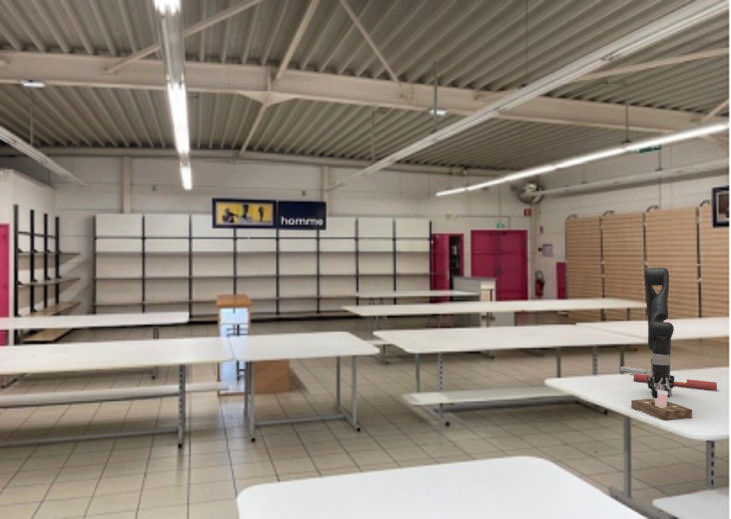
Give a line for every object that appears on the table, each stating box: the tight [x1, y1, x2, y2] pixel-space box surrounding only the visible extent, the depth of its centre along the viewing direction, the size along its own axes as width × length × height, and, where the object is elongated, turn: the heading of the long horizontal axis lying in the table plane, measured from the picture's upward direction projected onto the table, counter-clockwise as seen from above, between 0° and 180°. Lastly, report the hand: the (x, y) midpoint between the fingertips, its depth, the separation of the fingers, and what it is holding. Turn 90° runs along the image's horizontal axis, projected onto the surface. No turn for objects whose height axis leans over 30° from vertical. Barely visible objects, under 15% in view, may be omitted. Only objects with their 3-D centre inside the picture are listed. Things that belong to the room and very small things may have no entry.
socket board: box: [630, 398, 693, 421], centre depth 246 cm, size 16×20×4 cm
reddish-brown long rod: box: [633, 373, 718, 391], centre depth 301 cm, size 42×5×5 cm, turn 58°
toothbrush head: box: [619, 365, 651, 375], centre depth 327 cm, size 5×7×25 cm
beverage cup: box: [654, 384, 668, 407], centre depth 246 cm, size 6×6×14 cm
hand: (660, 397), depth 246 cm, fingers closed on beverage cup, 6 cm apart
